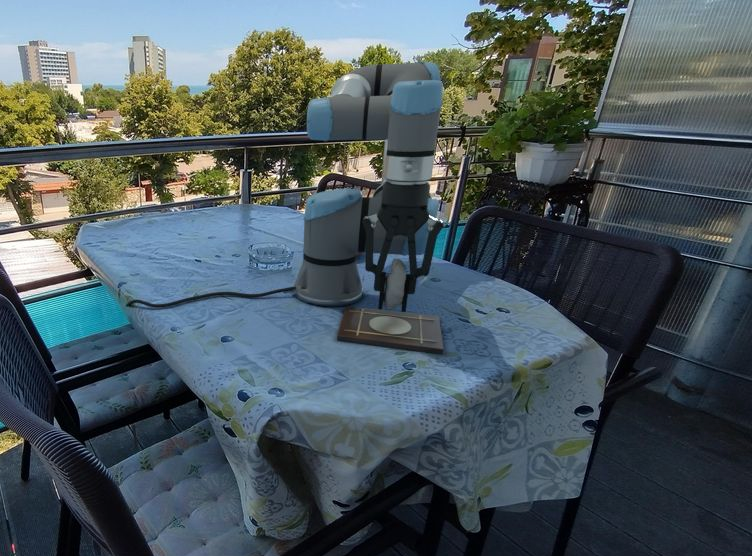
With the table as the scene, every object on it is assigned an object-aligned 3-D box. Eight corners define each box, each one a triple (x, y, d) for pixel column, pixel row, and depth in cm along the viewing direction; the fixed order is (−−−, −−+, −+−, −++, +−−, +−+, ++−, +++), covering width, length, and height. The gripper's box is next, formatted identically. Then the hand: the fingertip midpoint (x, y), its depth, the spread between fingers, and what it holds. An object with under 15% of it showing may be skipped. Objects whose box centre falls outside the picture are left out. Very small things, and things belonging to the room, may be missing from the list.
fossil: (404, 316, 84) (410, 264, 81) (384, 315, 85) (389, 263, 81) (400, 303, 90) (405, 254, 86) (381, 302, 90) (386, 253, 87)
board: (336, 340, 86) (337, 334, 86) (345, 310, 98) (346, 305, 98) (442, 354, 80) (443, 348, 80) (438, 320, 92) (439, 315, 92)
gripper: (354, 183, 78) (344, 310, 87) (463, 186, 72) (440, 321, 81) (358, 176, 84) (349, 295, 93) (458, 178, 79) (438, 304, 88)
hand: (391, 307), depth 87 cm, fingers closed on fossil, 3 cm apart
